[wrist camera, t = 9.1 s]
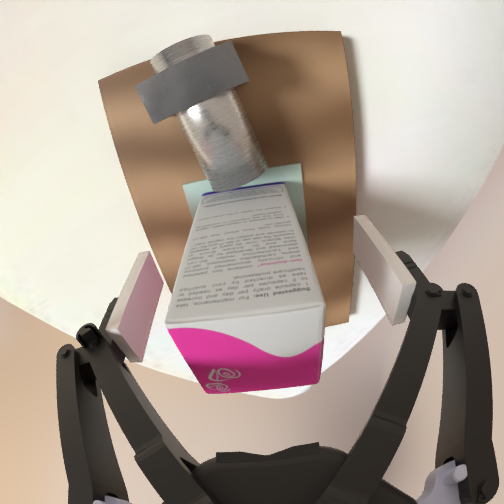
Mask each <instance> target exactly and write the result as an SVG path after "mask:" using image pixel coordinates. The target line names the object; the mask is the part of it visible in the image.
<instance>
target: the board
mask: <svg viewBox="0 0 504 504" xmlns="http://www.w3.org/2000/svg"><path fill="white" fill-rule="evenodd" d="M230 40H231V42H232V44H233V46H234V48H235V50H236V52H237V55H238V57H239V59H240V61H241V63H242V65H243V68H244V70H245V72H246V74H247V77H248V79H249V82H248V83H246V84H243V85H241V86H238V87H236V88H235V89H236V92H237V94H238V96H239V98H240V101H241V103H242V105H243V107H244V110H245V112H246V114H247V117H248V119H249V121H250V124H251V126H252V128H253V131H254V133H255V135H256V138H257V140H258V143H259V145H260V147H261V150H262V152H263V155H264V157H265V160H266V162H267V165H268V169H267V170H266V171H265V172H264V173H263V174H262V175H261V176H260V177H258V178H256V179H255V180H253V181H251V182H249V183H247V184H245V185H243V186H241V187H246V186H253V185H259V184H266V183H273V182H282V181H284V182H285V185H286V188H287V191H288V194H289V197H290V200H291V203H292V205H293V208H294V211H295V213H296V216H297V219H298V222H299V225H300V227H301V230H302V233H303V236H304V239H305V242H306V245H307V248H308V251H309V254H310V257H311V260H312V263H313V266H314V269H315V272H316V275H317V278H318V282H319V285H320V288H321V291H322V295H323V298H324V301H325V303H326V314H325V327H328V326H333V325H337V324H342V323H347V322H349V314H350V305H351V295H352V284H353V271H354V256H355V255H354V254H353V230H354V216H356V163H355V142H354V127H353V114H352V104H351V94H350V86H349V78H348V71H347V64H346V57H345V51H344V46H343V40H342V35H341V31H299V32H282V33H271V34H261V35H253V36H246V37H240V38H234V39H228V40H223V41H217V42H214V44H215V46H217V45H219V44H222V43H224V42H227V41H230ZM151 60H152V59H151ZM151 60H148V61H145V62H142V63H140V64H137V65H134V66H132V67H129V68H127V69H124V70H122V71H119V72H117V73H115V74H112V75H110V76H108V77H105V78H103V79H101V80H99V81H98V84H99V88H100V92H101V97H102V101H103V105H104V109H105V112H106V116H107V120H108V124H109V127H110V131H111V134H112V138H113V141H114V145H115V148H116V151H117V154H118V158H119V161H120V164H121V167H122V170H123V173H124V176H125V179H126V182H127V185H128V188H129V191H130V194H131V196H132V199H133V202H134V205H135V207H136V210H137V213H138V215H139V218H140V221H141V223H142V226H143V228H144V231H145V233H146V236H147V238H148V241H149V243H150V246H151V248H152V250H153V253H154V255H155V258H156V260H157V262H158V265H159V267H160V269H161V271H162V274H163V276H164V278H165V280H166V283H167V285H168V287H169V289H170V291H171V293H173V289H174V285H175V281H176V278H177V275H178V271H179V267H180V264H181V260H182V257H183V254H184V250H185V247H186V243H187V240H188V237H189V234H190V230H191V227H192V224H193V221H194V218H195V214H196V211H197V208H198V206H199V203H200V200H201V197H202V194H204V193H208V192H213V190H212V188H211V186H210V184H209V182H208V180H207V178H206V176H205V174H204V172H203V170H202V168H201V166H200V164H199V162H198V160H197V157H196V155H195V153H194V151H193V149H192V147H191V145H190V143H189V141H188V139H187V137H186V135H185V133H184V131H183V129H182V127H181V125H180V123H179V121H178V119H177V117H176V115H173V116H171V117H169V118H167V119H165V120H162V121H160V122H158V123H156V124H153V122H152V120H151V118H150V116H149V114H148V112H147V110H146V108H145V106H144V104H143V102H142V100H141V98H140V96H139V94H138V92H137V90H136V88H135V86H136V85H138V84H139V83H141V82H143V81H145V80H146V79H148V78H150V77H152V76H153V75H155V72H154V70H153V68H152V66H151V64H150V61H151Z"/></svg>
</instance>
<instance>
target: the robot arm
mask: <svg viewBox="0 0 504 504" xmlns="http://www.w3.org/2000/svg"><path fill="white" fill-rule="evenodd" d="M353 254H354V255H355V257H356V259H357V261H358V262H359V264H360V266H361V268H362V269H363V271H364V273H365V275H366V277H367V278H368V280H369V282H370V284H371V286H372V288H373V289H374V291H375V293H376V295H377V297H378V299H379V301H380V303H381V305H382V307H383V309H384V311H385V312H386V314H387V316H388V318H389V320H390V322H391V324H392V326H393V325H396V324H400V323H403V322H405V319H406V316H407V315H408V317H409V318H410V323H409V325H408V328H407V331H406V334H405V337H404V340H403V343H402V345H401V348H400V351H399V353H398V356H397V358H396V361H395V363H394V366H393V368H392V371H391V373H390V375H389V378H388V380H387V382H386V384H385V387H384V389H383V391H382V393H381V395H380V397H379V399H378V401H377V404H376V405H375V407H374V410H373V411H372V413H371V415H370V417H369V419H368V421H367V423H366V425H365V427H364V428H363V430H362V432H361V434H360V435H359V437H358V439H357V440H356V442H355V444H354V445H353V447H352V449H351V450H350V452H349V454H346V453H345V452H343V451H340V450H338V449H335V448H331V447H325V446H319V442H316V443H311V444H305V445H299V446H293V447H290V448H288V449H285V450H282V451H280V452H277V453H274V454H271V455H258V454H252V453H246V452H217V453H216V457H215V458H212V459H209V460H207V461H205V462H203V463H202V464H199V463H198V462H197V461H196V460H195V459H194V458H193V457H192V456H191V455H190V454H189V453H188V452H187V451H186V450H185V449H184V447H183V446H182V445H181V444H180V442H179V441H178V440H177V439H176V437H175V436H174V435H173V434H172V432H171V431H170V430H169V428H168V427H167V426H166V424H165V423H164V422H163V420H162V419H161V417H160V416H159V415H158V413H157V412H156V410H155V409H154V408H153V406H152V405H151V403H150V402H149V400H148V399H147V397H146V396H145V394H144V393H143V391H142V390H141V388H140V386H139V385H138V383H137V382H136V380H135V378H134V377H133V375H132V374H131V372H130V370H129V369H128V367H127V365H126V364H125V363H124V359H125V356H126V358H127V359H128V360H129V361H130V362H142V361H143V357H144V353H145V349H146V345H147V341H148V337H149V333H150V329H151V326H152V322H153V318H154V315H155V311H156V308H157V304H158V301H159V297H160V294H161V291H162V287H163V284H164V283H163V280H162V278H161V276H160V274H159V272H158V269H157V267H156V265H155V263H154V260H153V258H152V256H151V253H150V251H147V252H141V253H139V255H138V257H137V259H136V261H135V263H134V265H133V267H132V269H131V271H130V273H129V276H128V278H127V280H126V282H125V284H124V287H123V289H122V291H121V293H120V296H119V297H118V298H114V299H113V301H112V302H111V303H110V304H109V306H108V308H107V312H106V313H105V315H104V318H103V320H102V322H101V325H100V327H99V330H98V329H97V327H96V326H95V325H94V324H92V323H89V324H86V325H84V326H82V327H81V328H80V329H79V331H78V332H77V335H76V339H77V340H78V342H79V343H80V344H81V345H82V346H83V347H80V348H77V349H75V348H74V347H73V346H72V345H71V344H66V345H64V346H62V347H61V348H60V350H59V351H58V353H57V364H56V366H57V367H56V368H57V369H56V371H57V373H56V378H57V379H56V380H57V381H56V383H57V408H58V420H59V430H60V438H61V446H62V452H63V458H64V464H65V469H66V474H67V479H68V483H69V490H68V504H131V503H130V502H129V499H128V494H127V490H126V487H125V483H124V480H123V477H122V474H121V471H120V468H119V465H118V462H117V458H116V455H115V451H114V448H113V444H112V440H111V436H110V432H109V428H108V424H107V419H106V414H105V410H104V405H103V399H102V393H101V390H102V392H103V394H104V396H105V398H106V400H107V402H108V404H109V406H110V408H111V410H112V412H113V414H114V416H115V418H116V420H117V422H118V423H119V425H120V427H121V429H122V431H123V433H124V434H125V436H126V438H127V439H128V441H129V443H130V445H131V446H132V448H133V449H134V451H135V453H136V455H135V456H134V457H135V460H136V462H137V464H138V466H139V467H140V469H141V470H142V471H143V473H144V474H145V476H146V477H147V479H148V480H149V482H150V483H151V485H152V486H153V487H154V489H155V490H156V491H157V493H158V494H159V495H160V497H161V498H162V499H163V500H164V502H163V503H162V504H486V503H487V502H488V501H490V500H491V499H492V498H493V496H494V495H495V494H496V492H497V490H498V487H499V476H498V470H497V463H496V457H495V452H494V447H493V443H492V420H493V418H492V417H493V407H492V406H493V405H492V404H493V400H492V378H491V367H490V357H489V349H488V342H487V336H486V330H485V324H484V319H483V314H482V310H481V305H480V300H479V296H478V293H477V291H476V289H475V288H474V287H473V286H472V285H470V284H467V283H461V284H459V285H458V286H457V288H456V291H443V290H442V288H441V287H440V286H439V285H437V284H434V283H430V282H429V281H428V280H427V278H426V277H425V276H424V274H423V273H422V272H421V270H420V269H419V268H418V267H417V265H416V264H415V262H414V261H413V260H412V258H411V257H410V256H409V255H408V254H406V253H405V252H403V251H398V252H394V250H393V249H392V248H391V246H390V245H389V244H388V243H387V241H386V240H385V239H384V237H383V236H382V235H381V234H380V232H379V231H378V230H377V229H376V227H375V226H374V225H373V224H372V223H371V221H370V220H369V219H368V218H367V216H366V215H365V214H364V215H357V216H354V230H353ZM437 330H442V335H443V394H442V409H441V420H440V428H439V436H438V443H437V450H436V460H435V469H434V470H433V471H432V472H431V473H430V474H429V475H428V477H427V479H426V482H425V487H424V491H423V493H422V495H421V496H420V497H419V498H418V499H417V500H414V499H413V498H411V497H410V496H408V495H407V494H405V493H403V492H402V491H400V490H399V489H397V488H396V487H394V486H393V485H391V484H389V483H388V482H386V481H385V480H383V479H382V477H383V475H384V474H385V472H386V470H387V468H388V466H389V465H390V463H391V461H392V459H393V457H394V455H395V453H396V451H397V449H398V447H399V445H400V443H401V441H402V439H403V436H404V434H405V432H406V424H407V421H408V419H409V417H410V414H411V412H412V409H413V406H414V404H415V401H416V398H417V396H418V393H419V390H420V388H421V385H422V382H423V379H424V376H425V372H426V369H427V366H428V363H429V359H430V355H431V352H432V349H433V345H434V341H435V337H436V333H437Z"/></svg>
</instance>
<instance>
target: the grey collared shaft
mask: <svg viewBox="0 0 504 504" xmlns="http://www.w3.org/2000/svg"><path fill="white" fill-rule="evenodd" d="M150 64H151V66H152V68H153V70H154V72H155V75H153V76H152V77H150V78H148V79H146V80H145V81H143V82H141V83H139V84H138V85H136V86H135V88H136V90H137V92H138V94H139V96H140V98H141V100H142V102H143V104H144V106H145V108H146V110H147V112H148V114H149V116H150V118H151V120H152V122H153V124H156V123H158V122H160V121H162V120H165V119H167V118H169V117H171V116H173V115H176V117H177V119H178V121H179V123H180V125H181V127H182V129H183V131H184V133H185V135H186V137H187V139H188V141H189V143H190V145H191V147H192V149H193V151H194V153H195V155H196V157H197V160H198V162H199V164H200V166H201V168H202V170H203V172H204V174H205V176H206V178H207V180H208V182H209V184H210V186H211V188H212V190H213V191H215V192H224V191H229V190H232V189H235V188H238V187H241V186H243V185H245V184H247V183H249V182H251V181H253V180H255V179H256V178H258V177H260V176H261V175H262V174H263V173H264V172H265V171H266V170H267V169H268V165H267V162H266V160H265V157H264V155H263V152H262V150H261V147H260V145H259V143H258V140H257V138H256V135H255V133H254V131H253V128H252V126H251V124H250V121H249V119H248V117H247V114H246V112H245V110H244V107H243V105H242V103H241V101H240V98H239V96H238V94H237V92H236V89H235V88H236V87H238V86H241V85H243V84H246V83H248V82H249V79H248V77H247V74H246V72H245V70H244V68H243V65H242V63H241V61H240V59H239V57H238V55H237V52H236V50H235V48H234V46H233V44H232V42H231V40H230V41H227V42H224V43H222V44H219V45H217V46H215V44H214V42H213V40H212V38H211V36H210V35H199V36H195V37H191V38H188V39H185V40H183V41H180V42H178V43H176V44H174V45H172V46H170V47H168V48H166V49H164V50H163V51H161V52H160V53H158V54H157V55H156V56H155V57H153V58H152V60H151V61H150Z"/></svg>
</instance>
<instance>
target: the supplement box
mask: <svg viewBox="0 0 504 504" xmlns="http://www.w3.org/2000/svg"><path fill="white" fill-rule="evenodd" d="M325 314H326V303H325V301H324V298H323V295H322V291H321V288H320V285H319V282H318V278H317V275H316V272H315V269H314V266H313V263H312V260H311V257H310V254H309V251H308V248H307V245H306V242H305V239H304V236H303V233H302V230H301V227H300V225H299V222H298V219H297V216H296V213H295V211H294V208H293V205H292V203H291V200H290V197H289V194H288V191H287V188H286V185H285V182H284V181H282V182H273V183H266V184H259V185H253V186H246V187H238V188H235V189H232V190H229V191H224V192H215V191H213V192H208V193H204V194H202V197H201V200H200V203H199V206H198V208H197V211H196V214H195V218H194V221H193V224H192V227H191V230H190V234H189V237H188V240H187V243H186V247H185V250H184V254H183V257H182V260H181V264H180V267H179V271H178V275H177V278H176V281H175V285H174V289H173V293H172V297H171V300H170V304H169V308H168V312H167V315H166V319H165V327H166V328H167V330H168V332H169V334H170V335H171V337H172V339H173V340H174V342H175V344H176V346H177V347H178V349H179V351H180V352H181V354H182V356H183V357H184V359H185V361H186V362H187V364H188V366H189V367H190V369H191V370H192V372H193V374H194V375H195V377H196V378H197V380H198V381H199V383H200V384H201V386H202V387H203V389H204V391H205V392H206V393H208V394H220V393H237V392H248V391H259V390H269V389H279V388H288V387H296V386H304V385H311V384H317V383H318V382H319V379H320V374H321V367H322V359H323V345H324V331H325Z"/></svg>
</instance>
